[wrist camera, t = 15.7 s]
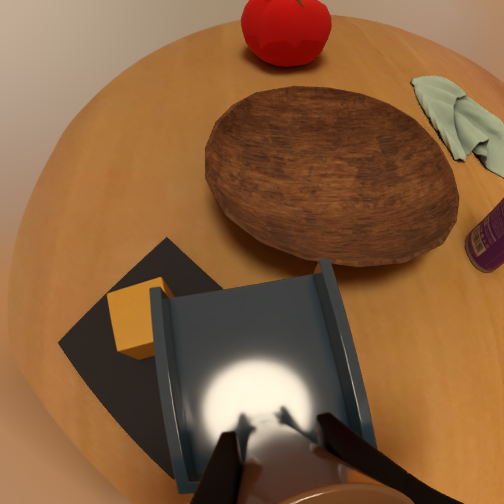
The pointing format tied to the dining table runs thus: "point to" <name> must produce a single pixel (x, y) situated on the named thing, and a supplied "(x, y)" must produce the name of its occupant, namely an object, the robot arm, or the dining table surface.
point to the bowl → (331, 176)
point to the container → (488, 241)
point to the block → (134, 318)
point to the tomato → (286, 30)
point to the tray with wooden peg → (264, 388)
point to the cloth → (462, 121)
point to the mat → (128, 368)
